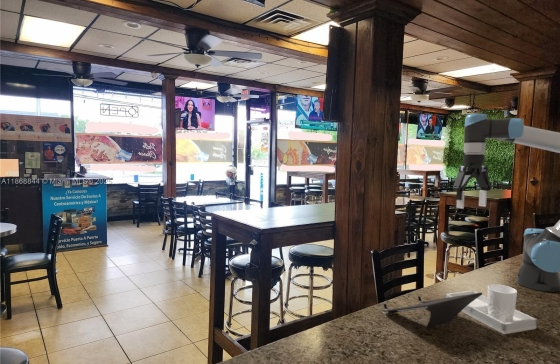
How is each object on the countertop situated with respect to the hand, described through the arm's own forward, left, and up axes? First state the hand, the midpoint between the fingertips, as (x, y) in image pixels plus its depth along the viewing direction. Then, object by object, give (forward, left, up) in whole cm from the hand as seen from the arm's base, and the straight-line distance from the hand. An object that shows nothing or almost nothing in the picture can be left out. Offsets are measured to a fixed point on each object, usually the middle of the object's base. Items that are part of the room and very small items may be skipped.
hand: (471, 207), depth 146 cm
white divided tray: (+16, +24, -32) cm, 43 cm away
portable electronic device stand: (+37, +21, -32) cm, 54 cm away
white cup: (+17, +30, -31) cm, 46 cm away
